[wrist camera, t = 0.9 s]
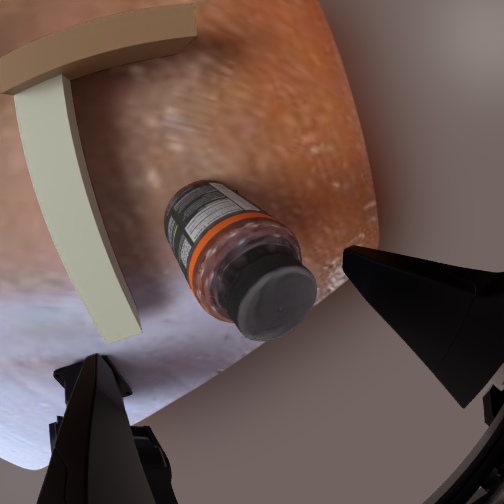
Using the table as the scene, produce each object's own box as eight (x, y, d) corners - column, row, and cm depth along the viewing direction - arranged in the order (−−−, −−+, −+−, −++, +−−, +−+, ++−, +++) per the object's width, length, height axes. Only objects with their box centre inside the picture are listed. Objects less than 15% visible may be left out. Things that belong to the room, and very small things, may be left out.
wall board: (214, 281, 24) (238, 317, 20) (105, 319, 21) (109, 364, 17) (173, 28, 13) (193, 3, 9) (25, 70, 10) (-2, 58, 6)
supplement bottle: (244, 236, 23) (333, 322, 14) (176, 264, 22) (234, 376, 13) (229, 166, 20) (335, 225, 11) (150, 195, 18) (196, 287, 9)
